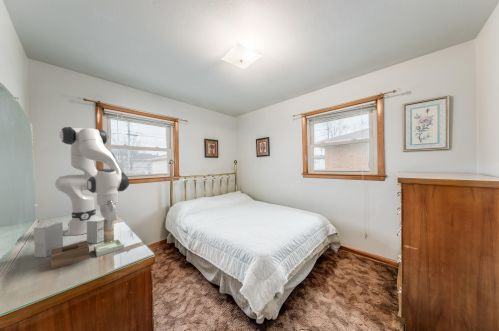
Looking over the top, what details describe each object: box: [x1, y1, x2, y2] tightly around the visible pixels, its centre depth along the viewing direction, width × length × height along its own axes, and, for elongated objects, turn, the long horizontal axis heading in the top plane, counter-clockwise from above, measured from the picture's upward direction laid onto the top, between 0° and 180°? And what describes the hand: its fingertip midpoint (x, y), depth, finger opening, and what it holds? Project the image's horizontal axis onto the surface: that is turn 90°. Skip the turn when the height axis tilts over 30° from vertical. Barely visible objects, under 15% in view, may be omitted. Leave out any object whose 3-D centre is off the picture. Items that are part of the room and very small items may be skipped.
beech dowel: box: [103, 219, 115, 244], centre depth 92 cm, size 4×4×12 cm
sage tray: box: [93, 238, 125, 258], centre depth 92 cm, size 11×11×2 cm
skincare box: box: [33, 221, 64, 258], centre depth 89 cm, size 8×6×15 cm
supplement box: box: [86, 217, 104, 244], centre depth 104 cm, size 7×7×13 cm
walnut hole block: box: [50, 240, 90, 271], centre depth 83 cm, size 12×12×5 cm
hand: (108, 226), depth 92 cm, fingers closed on beech dowel, 4 cm apart
